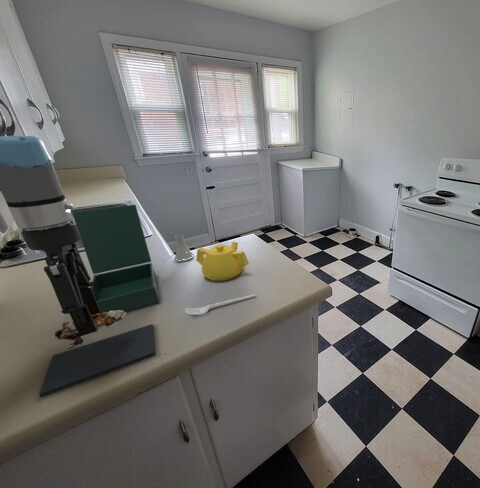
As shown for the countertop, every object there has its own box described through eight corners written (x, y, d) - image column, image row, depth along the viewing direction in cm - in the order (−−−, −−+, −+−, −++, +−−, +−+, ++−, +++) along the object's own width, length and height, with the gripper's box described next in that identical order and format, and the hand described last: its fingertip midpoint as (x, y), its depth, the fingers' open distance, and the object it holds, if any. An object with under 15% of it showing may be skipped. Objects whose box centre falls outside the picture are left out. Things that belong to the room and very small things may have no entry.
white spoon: (256, 299, 84) (256, 294, 83) (186, 319, 76) (184, 313, 75) (254, 294, 87) (253, 289, 86) (185, 312, 78) (184, 307, 77)
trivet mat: (40, 397, 54) (38, 394, 53) (54, 357, 63) (53, 355, 63) (155, 354, 64) (154, 352, 63) (153, 326, 73) (152, 323, 73)
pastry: (131, 316, 64) (126, 304, 63) (68, 350, 54) (61, 336, 53) (114, 308, 67) (110, 296, 66) (52, 339, 57) (45, 326, 56)
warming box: (159, 302, 83) (154, 287, 81) (92, 321, 75) (85, 305, 73) (155, 276, 98) (151, 262, 95) (99, 289, 90) (93, 275, 87)
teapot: (261, 261, 108) (258, 235, 104) (240, 285, 92) (236, 256, 87) (215, 257, 112) (211, 232, 107) (187, 280, 95) (180, 251, 91)
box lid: (135, 204, 90) (135, 204, 90) (71, 212, 82) (72, 212, 82) (151, 261, 95) (151, 261, 96) (93, 274, 87) (93, 273, 88)
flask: (195, 259, 110) (190, 236, 106) (176, 264, 106) (170, 240, 103) (192, 253, 116) (187, 231, 112) (173, 257, 112) (168, 235, 108)
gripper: (63, 236, 45) (108, 343, 54) (82, 209, 60) (114, 296, 69) (-2, 246, 41) (58, 359, 50) (35, 214, 56) (76, 305, 65)
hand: (91, 322), depth 59 cm, fingers closed on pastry, 7 cm apart
